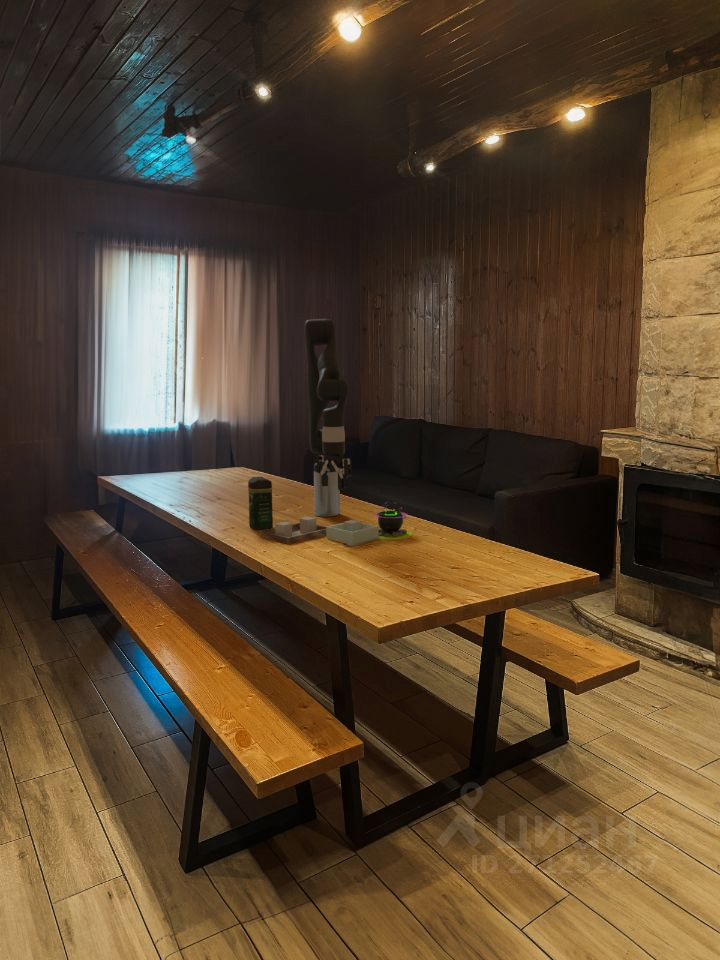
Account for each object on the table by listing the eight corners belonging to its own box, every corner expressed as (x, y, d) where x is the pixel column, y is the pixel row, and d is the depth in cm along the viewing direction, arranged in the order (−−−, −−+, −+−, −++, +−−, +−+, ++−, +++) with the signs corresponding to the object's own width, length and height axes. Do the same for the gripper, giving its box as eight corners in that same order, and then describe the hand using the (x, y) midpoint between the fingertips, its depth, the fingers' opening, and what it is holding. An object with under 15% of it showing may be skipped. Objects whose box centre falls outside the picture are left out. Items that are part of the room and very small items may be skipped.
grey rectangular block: (308, 530, 246) (308, 516, 245) (316, 532, 243) (316, 518, 243) (300, 532, 243) (299, 518, 242) (307, 534, 240) (307, 520, 240)
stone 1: (282, 536, 238) (282, 521, 237) (292, 537, 236) (291, 523, 235) (275, 538, 235) (274, 523, 234) (284, 540, 233) (284, 525, 232)
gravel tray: (303, 528, 251) (303, 521, 251) (331, 535, 241) (331, 527, 241) (260, 538, 238) (260, 531, 237) (288, 545, 228) (287, 538, 227)
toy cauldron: (418, 532, 246) (418, 500, 245) (403, 541, 233) (403, 508, 231) (378, 528, 252) (378, 497, 251) (361, 537, 239) (361, 505, 237)
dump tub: (352, 533, 243) (352, 520, 243) (378, 539, 235) (378, 526, 234) (326, 540, 235) (326, 526, 234) (352, 546, 226) (352, 532, 226)
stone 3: (352, 534, 240) (352, 519, 240) (361, 536, 238) (360, 521, 237) (344, 536, 238) (344, 521, 237) (352, 538, 235) (352, 523, 234)
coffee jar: (275, 530, 250) (274, 478, 247) (253, 532, 247) (252, 480, 244) (268, 524, 258) (267, 474, 255) (247, 526, 255) (245, 476, 252)
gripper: (356, 440, 233) (357, 488, 236) (326, 437, 243) (326, 483, 245) (341, 442, 228) (341, 491, 231) (310, 439, 237) (311, 486, 240)
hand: (334, 487), depth 238 cm, fingers open, 8 cm apart
